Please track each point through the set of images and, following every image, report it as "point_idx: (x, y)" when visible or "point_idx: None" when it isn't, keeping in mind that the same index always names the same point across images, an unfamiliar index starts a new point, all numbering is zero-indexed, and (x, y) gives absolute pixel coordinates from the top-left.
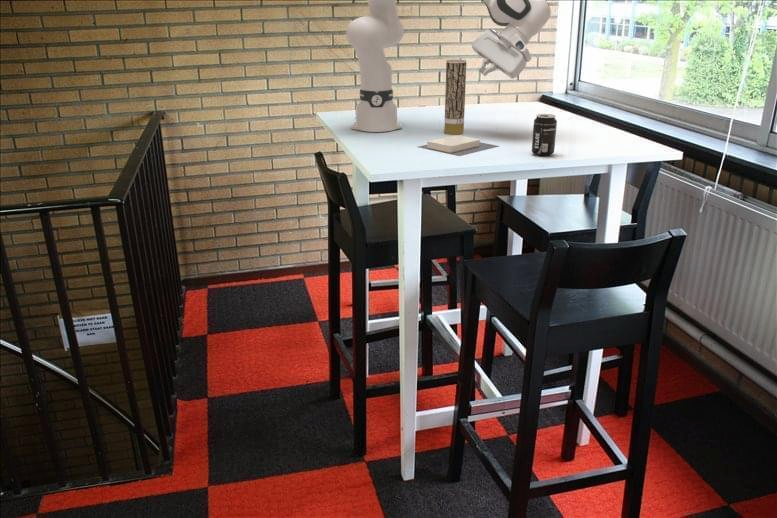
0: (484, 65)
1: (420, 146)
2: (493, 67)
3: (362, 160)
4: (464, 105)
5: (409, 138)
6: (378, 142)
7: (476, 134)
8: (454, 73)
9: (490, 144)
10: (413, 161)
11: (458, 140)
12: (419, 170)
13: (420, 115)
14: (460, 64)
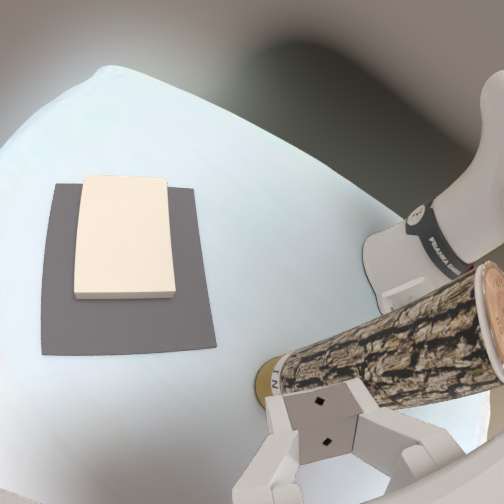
0: (377, 447)
1: (190, 195)
2: (233, 496)
3: (181, 91)
4: None
5: (290, 253)
6: (284, 184)
7: (241, 444)
8: (425, 301)
9: (76, 352)
10: (112, 118)
11: (113, 236)
12: (69, 95)
13: (455, 423)
14: (468, 311)
